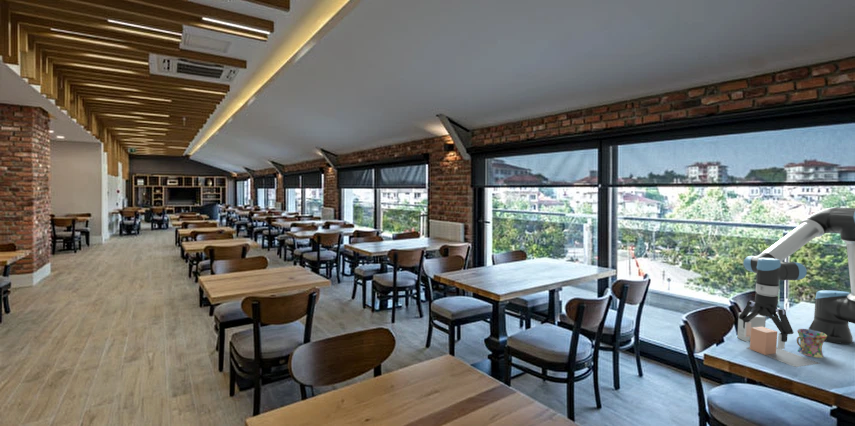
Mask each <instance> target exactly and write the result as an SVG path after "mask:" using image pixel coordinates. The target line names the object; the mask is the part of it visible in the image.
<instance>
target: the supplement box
mask: <svg viewBox="0 0 855 426" xmlns="http://www.w3.org/2000/svg"><path fill="white" fill-rule="evenodd" d="M741 313H742V312H738V320H737V337H736V338H737V339H740V340H742V342H743V341H744V342H746V343H747V342H750V338H751V336H750V337H745V336H744V331H745V329H744V328H743V320H742V319H739V316H740V314H741ZM751 313H752V312H751V311H750V312H749V314H751ZM749 314H748V315H749ZM748 315H747V316H748ZM766 318H767V316H765V315H760V314H758V315H757V316H755V317H754V318H753V319H751V320H750V321H749V322H751V328H753V327H765V328H766V320H767V319H766Z"/></svg>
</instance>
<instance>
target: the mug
mask: <svg viewBox="0 0 855 426" xmlns="http://www.w3.org/2000/svg"><path fill="white" fill-rule="evenodd" d="M796 332H797V333H798V336H797V338H796V343H797V345H798V349H797V352H798V353H799V354H801V355H805V356H807V357H812V358H824V354H823V344H824V342H825V339H826V338H827V335H826V334H824V333H822V332H818V331H814V330H809V328H808V329H807V328H798V329H796Z"/></svg>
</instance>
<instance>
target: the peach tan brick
mask: <svg viewBox="0 0 855 426" xmlns="http://www.w3.org/2000/svg"><path fill="white" fill-rule="evenodd" d="M777 345H778V331H776V330H773V329H771V328H768V327H766V326H765V327H753V328H751V338H750V341H749V347H750V349H751V350H750V349H749V350H750V351H753V350H754V351H753V352H755V351H756V353H758V352H759V353H758V354H760V353H761V354H760V355H763V354H764V356H765V355H768V354H775V353H776V347H777Z"/></svg>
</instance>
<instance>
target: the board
mask: <svg viewBox="0 0 855 426" xmlns="http://www.w3.org/2000/svg"><path fill="white" fill-rule="evenodd" d="M746 349H748V350H750V351H752V352H756V351H754V350H751V349H750V346H749V347H746ZM756 353H758V354H760V355H764V354H761V353H759V352H756ZM764 356H765V357H768V358H771V359H773V360H776V361H778V362H781V363H784V364H786V365H789V366H791V367H794V368H798V367H805V366H812V365H813V366H814V365H819V364H821V362H818V361H816V360H814V359H813V360H812V359H810V358H807V357H805V356H802V355H799V354H796V353H792V351H791V352H790V351H787V350H785V349H778V346H776V353H775V354H768V355H764Z"/></svg>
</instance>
